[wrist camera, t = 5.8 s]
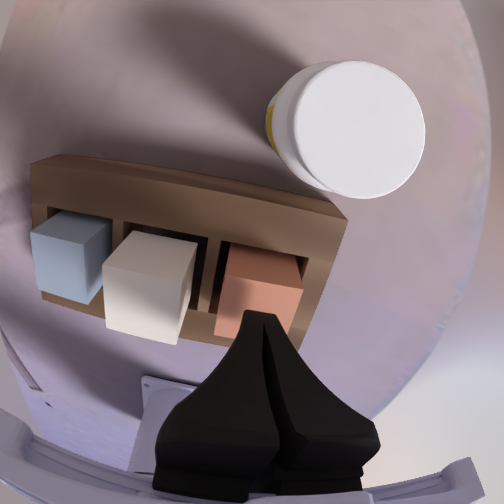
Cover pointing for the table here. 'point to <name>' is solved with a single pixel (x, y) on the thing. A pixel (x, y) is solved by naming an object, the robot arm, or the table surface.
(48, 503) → the robot arm
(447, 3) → the table surface
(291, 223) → the key block
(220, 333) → the red key
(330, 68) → the supplement bottle
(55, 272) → the blue key
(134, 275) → the white key
